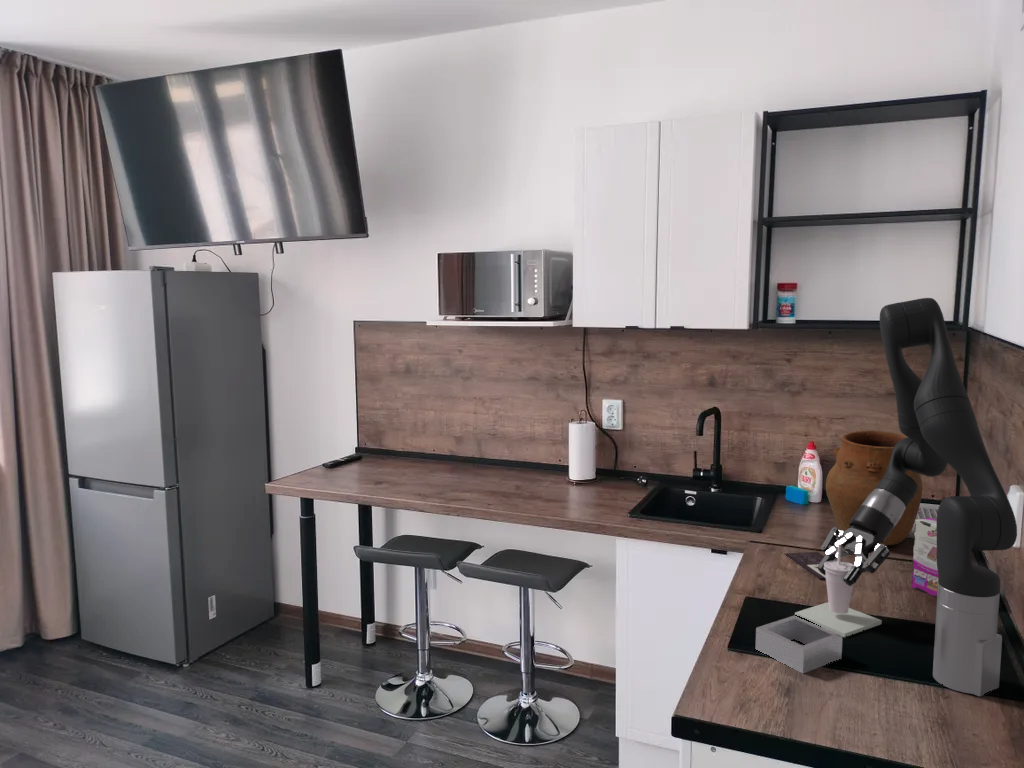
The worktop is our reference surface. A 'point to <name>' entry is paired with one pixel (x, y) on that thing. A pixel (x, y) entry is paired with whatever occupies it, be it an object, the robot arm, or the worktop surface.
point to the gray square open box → (805, 658)
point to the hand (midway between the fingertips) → (833, 577)
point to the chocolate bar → (809, 562)
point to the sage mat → (839, 619)
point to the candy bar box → (925, 556)
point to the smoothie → (838, 584)
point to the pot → (866, 479)
